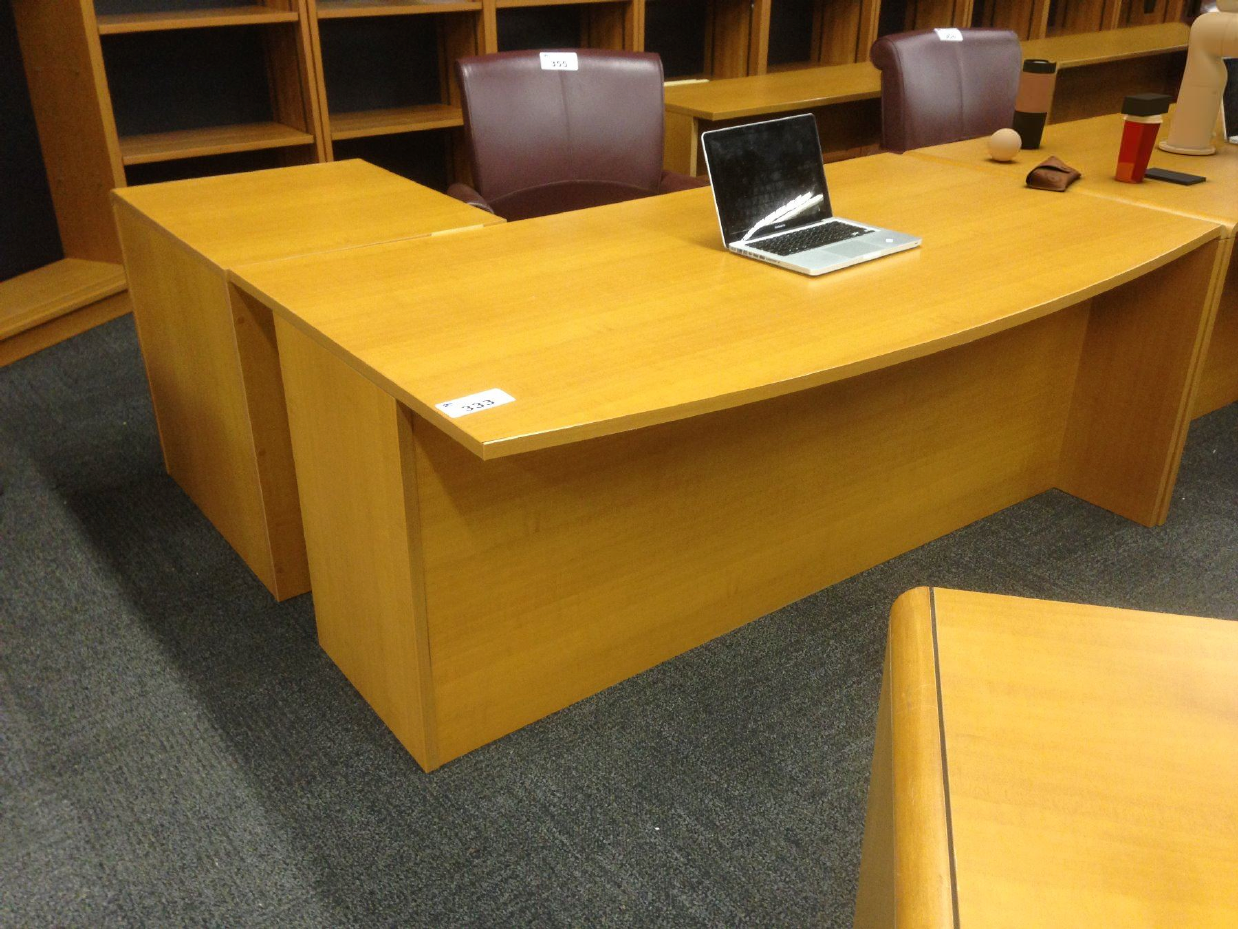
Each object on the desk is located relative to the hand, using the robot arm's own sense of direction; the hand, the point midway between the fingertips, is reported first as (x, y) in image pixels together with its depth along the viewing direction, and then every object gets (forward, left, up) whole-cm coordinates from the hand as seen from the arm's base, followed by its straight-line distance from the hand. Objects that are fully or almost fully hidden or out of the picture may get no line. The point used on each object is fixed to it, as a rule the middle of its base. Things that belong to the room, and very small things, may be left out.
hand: (1169, 15), depth 228 cm
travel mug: (+3, -27, -32) cm, 42 cm away
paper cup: (+16, +8, -32) cm, 37 cm away
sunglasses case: (+32, 0, -32) cm, 45 cm away
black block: (+16, +8, -18) cm, 25 cm away
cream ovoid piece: (+22, -20, -32) cm, 44 cm away
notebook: (+6, +12, -32) cm, 35 cm away
